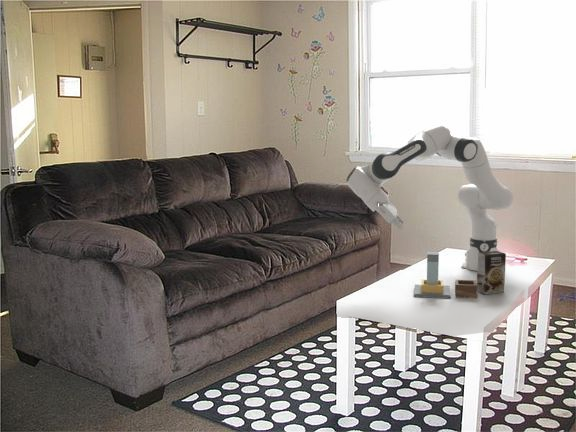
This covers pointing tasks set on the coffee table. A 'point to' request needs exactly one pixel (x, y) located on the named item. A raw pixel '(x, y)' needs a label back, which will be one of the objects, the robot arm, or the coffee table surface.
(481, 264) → the coffee box
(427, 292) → the dock
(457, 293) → the box
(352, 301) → the coffee table surface
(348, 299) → the coffee table surface
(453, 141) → the robot arm
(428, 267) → the plug
